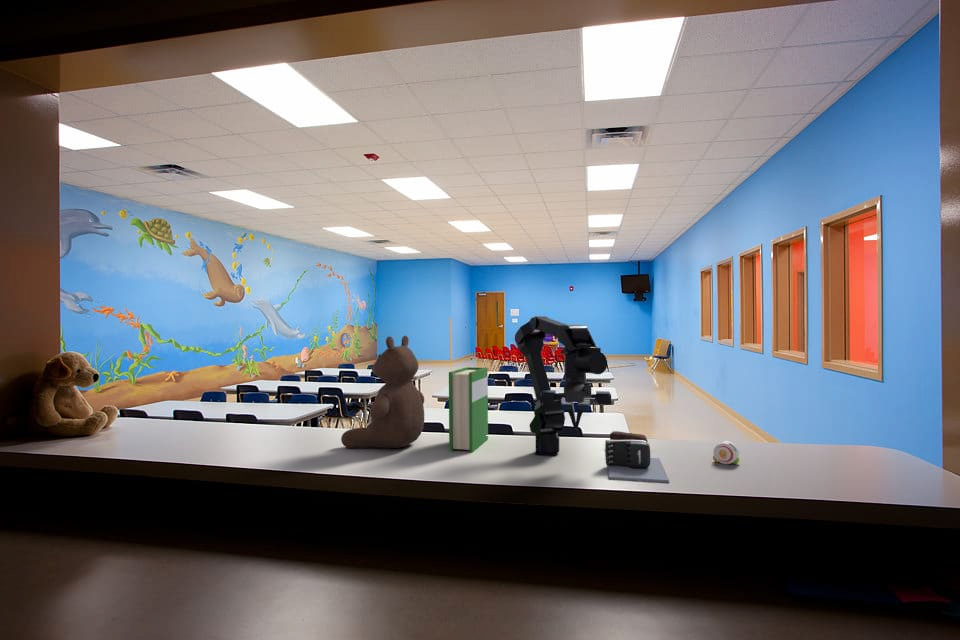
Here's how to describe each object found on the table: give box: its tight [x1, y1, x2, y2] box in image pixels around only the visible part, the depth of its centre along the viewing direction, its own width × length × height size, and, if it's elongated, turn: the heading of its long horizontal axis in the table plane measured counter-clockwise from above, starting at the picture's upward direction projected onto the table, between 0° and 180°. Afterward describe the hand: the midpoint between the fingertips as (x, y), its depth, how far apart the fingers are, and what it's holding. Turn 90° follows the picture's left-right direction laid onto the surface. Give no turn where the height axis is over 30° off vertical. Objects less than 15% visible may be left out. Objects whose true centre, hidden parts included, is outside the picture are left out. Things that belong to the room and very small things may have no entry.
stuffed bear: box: [340, 335, 425, 449], centre depth 160 cm, size 29×23×35 cm
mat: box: [607, 457, 670, 483], centre depth 131 cm, size 14×20×1 cm
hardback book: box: [448, 366, 489, 454], centre depth 159 cm, size 18×7×24 cm, turn 164°
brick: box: [609, 430, 648, 442], centre depth 153 cm, size 11×4×5 cm, turn 60°
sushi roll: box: [712, 440, 740, 465], centre depth 136 cm, size 4×6×6 cm
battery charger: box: [604, 439, 651, 469], centre depth 131 cm, size 7×4×11 cm
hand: (575, 429), depth 135 cm, fingers closed
